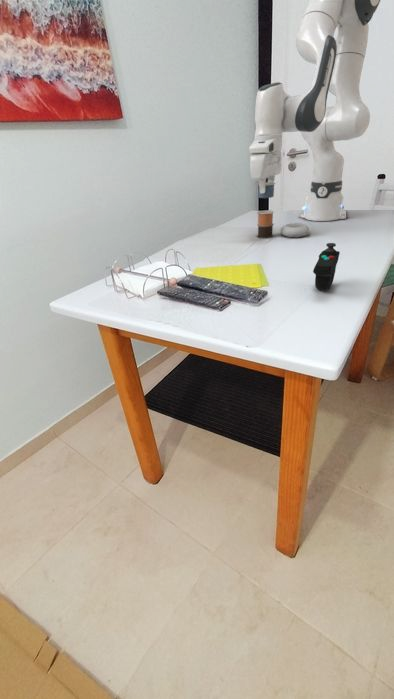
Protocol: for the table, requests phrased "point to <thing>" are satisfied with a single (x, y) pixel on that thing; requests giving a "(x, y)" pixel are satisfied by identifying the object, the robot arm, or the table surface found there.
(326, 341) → the table surface
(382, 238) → the table surface
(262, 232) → the base
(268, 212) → the cylinder
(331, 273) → the controller
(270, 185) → the pod top
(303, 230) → the donut
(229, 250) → the table surface
